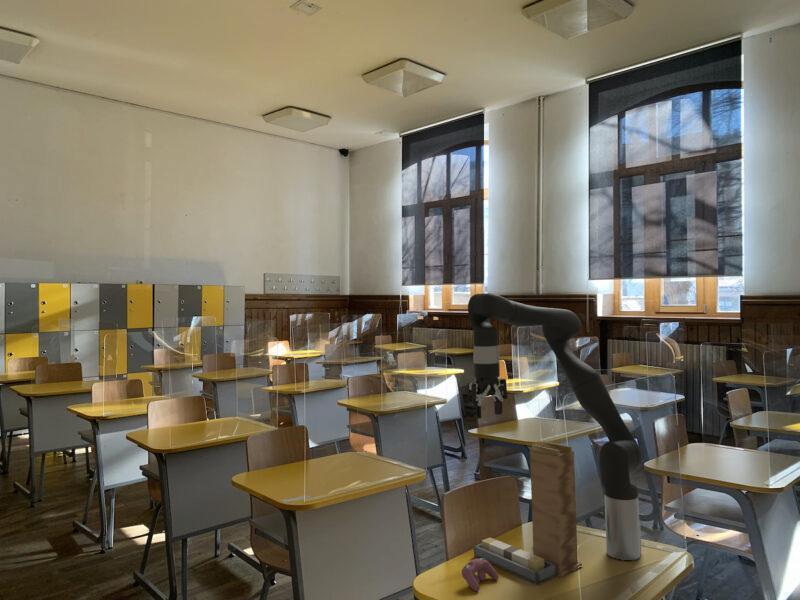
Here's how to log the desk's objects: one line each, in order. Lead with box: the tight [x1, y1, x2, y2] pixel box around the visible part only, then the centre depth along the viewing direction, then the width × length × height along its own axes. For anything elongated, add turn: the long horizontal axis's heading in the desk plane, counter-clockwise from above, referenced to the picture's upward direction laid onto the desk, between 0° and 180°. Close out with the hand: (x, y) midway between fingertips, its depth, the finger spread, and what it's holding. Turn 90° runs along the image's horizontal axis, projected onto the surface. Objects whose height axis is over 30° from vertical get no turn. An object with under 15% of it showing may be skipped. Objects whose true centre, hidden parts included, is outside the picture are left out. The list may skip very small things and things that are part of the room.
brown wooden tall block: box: [529, 441, 583, 578], centre depth 166 cm, size 9×11×34 cm
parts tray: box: [473, 542, 558, 586], centre depth 167 cm, size 8×24×3 cm, turn 37°
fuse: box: [481, 537, 545, 572], centre depth 167 cm, size 4×20×4 cm, turn 38°
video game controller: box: [461, 557, 499, 592], centre depth 157 cm, size 10×5×7 cm, turn 135°
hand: (488, 416), depth 173 cm, fingers open, 8 cm apart
